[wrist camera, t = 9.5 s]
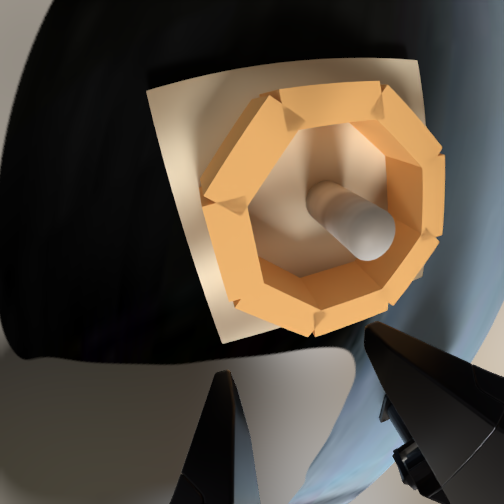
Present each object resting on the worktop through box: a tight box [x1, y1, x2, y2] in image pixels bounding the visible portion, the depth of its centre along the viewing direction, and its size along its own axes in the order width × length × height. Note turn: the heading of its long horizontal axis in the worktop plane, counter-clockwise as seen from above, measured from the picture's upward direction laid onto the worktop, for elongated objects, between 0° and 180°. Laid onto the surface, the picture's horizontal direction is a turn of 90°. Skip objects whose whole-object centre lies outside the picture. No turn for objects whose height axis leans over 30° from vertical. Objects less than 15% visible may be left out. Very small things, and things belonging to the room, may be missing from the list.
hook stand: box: [146, 58, 426, 344], centre depth 15 cm, size 16×16×6 cm
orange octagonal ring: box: [199, 81, 445, 337], centre depth 15 cm, size 13×13×4 cm
